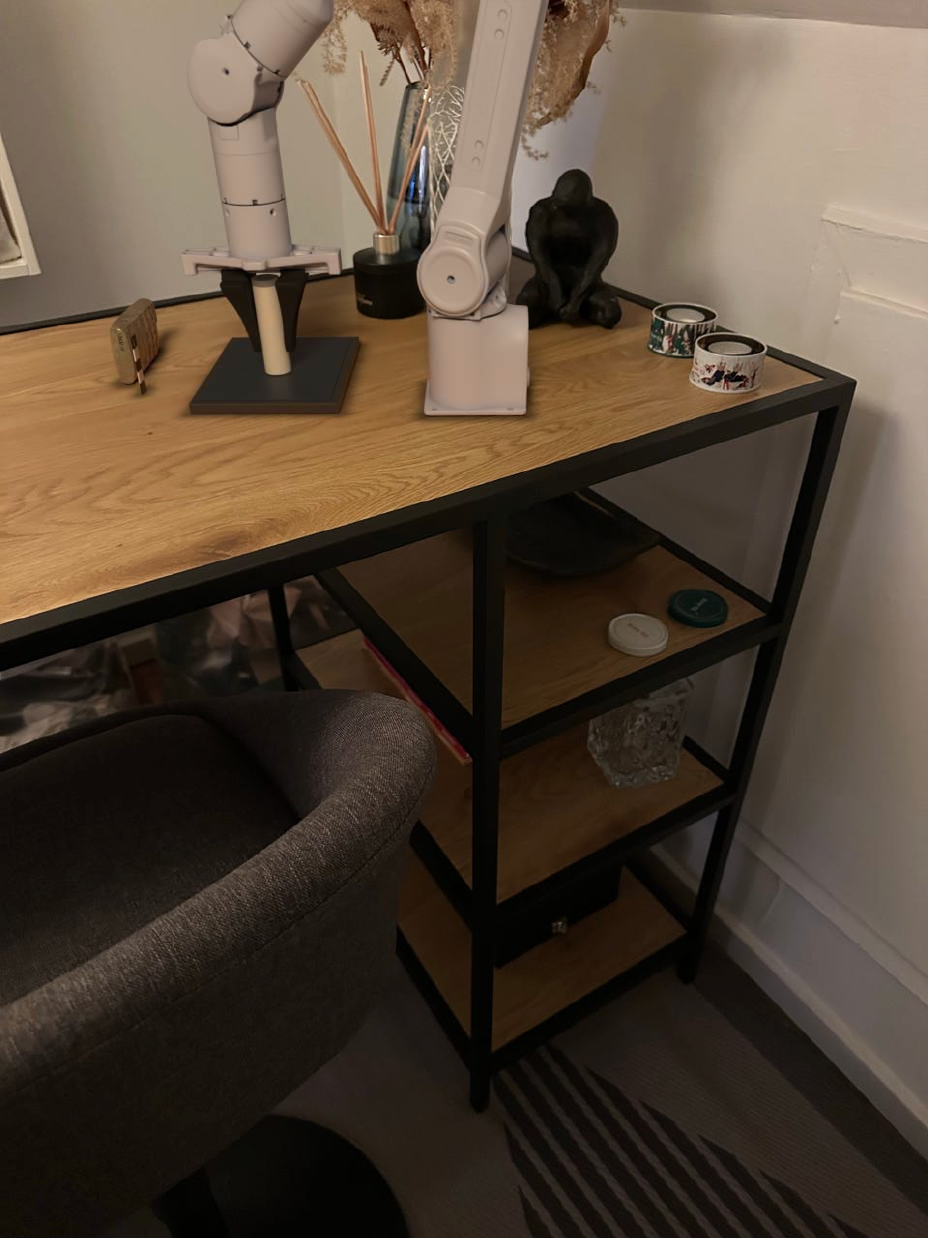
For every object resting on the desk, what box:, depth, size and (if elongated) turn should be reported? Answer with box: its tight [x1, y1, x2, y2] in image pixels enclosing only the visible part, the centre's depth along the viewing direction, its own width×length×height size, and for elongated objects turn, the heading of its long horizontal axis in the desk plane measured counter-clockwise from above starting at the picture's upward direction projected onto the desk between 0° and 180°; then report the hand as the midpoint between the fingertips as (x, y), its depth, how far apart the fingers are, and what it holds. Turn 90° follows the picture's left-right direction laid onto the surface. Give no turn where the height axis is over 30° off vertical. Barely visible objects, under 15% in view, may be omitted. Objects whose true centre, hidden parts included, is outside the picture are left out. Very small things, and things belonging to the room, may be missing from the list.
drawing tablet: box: [188, 336, 361, 415], centre depth 88 cm, size 14×18×1 cm
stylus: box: [251, 273, 291, 375], centre depth 84 cm, size 3×3×9 cm
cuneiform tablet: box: [109, 297, 160, 395], centre depth 89 cm, size 6×4×12 cm
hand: (275, 348), depth 86 cm, fingers closed on stylus, 2 cm apart
